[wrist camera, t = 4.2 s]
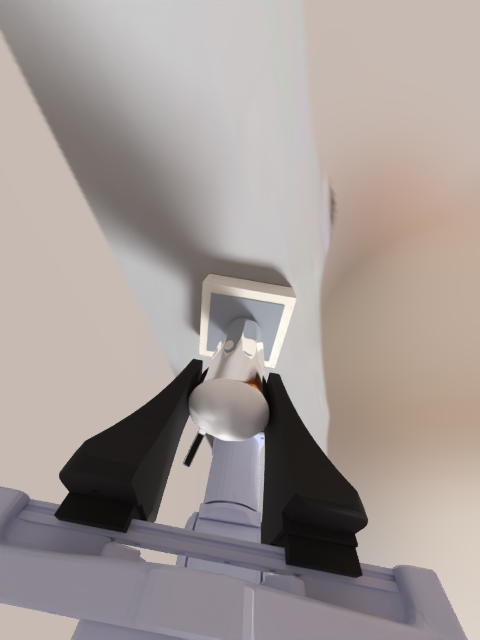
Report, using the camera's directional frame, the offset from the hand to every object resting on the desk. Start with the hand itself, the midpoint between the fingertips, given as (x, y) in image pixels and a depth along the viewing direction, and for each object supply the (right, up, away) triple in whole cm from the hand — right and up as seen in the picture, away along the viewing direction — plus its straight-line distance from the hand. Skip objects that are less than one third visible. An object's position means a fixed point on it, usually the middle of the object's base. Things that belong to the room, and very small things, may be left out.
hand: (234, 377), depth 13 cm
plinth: (+1, +4, +7) cm, 8 cm away
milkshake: (+1, +3, +5) cm, 6 cm away
